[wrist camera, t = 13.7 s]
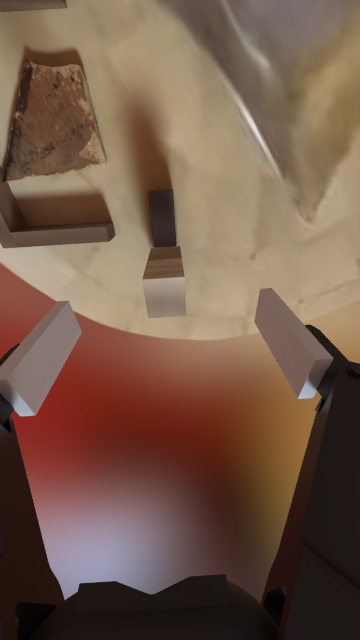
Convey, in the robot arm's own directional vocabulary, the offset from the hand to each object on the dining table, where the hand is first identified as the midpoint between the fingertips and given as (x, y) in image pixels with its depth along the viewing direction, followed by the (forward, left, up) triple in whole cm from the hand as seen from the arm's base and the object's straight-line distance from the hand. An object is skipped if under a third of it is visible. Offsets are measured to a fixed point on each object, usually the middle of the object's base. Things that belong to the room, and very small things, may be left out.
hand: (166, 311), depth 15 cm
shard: (-11, -9, -15) cm, 21 cm away
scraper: (0, 0, -14) cm, 14 cm away
